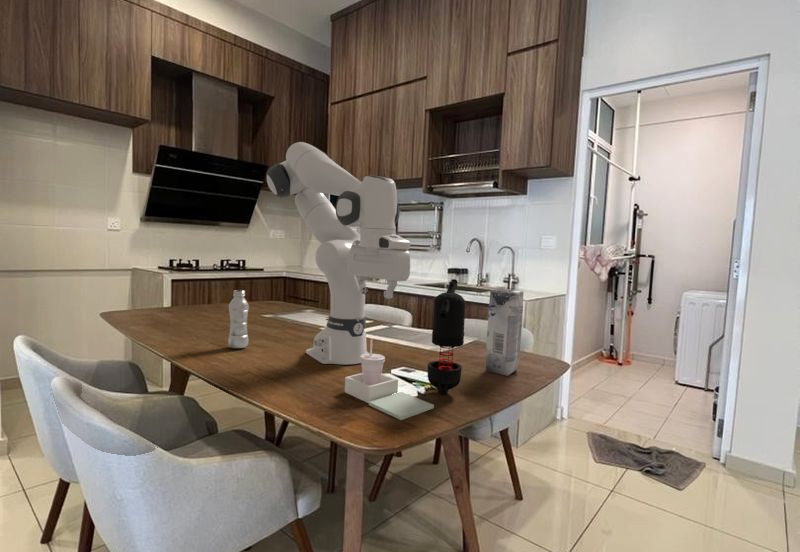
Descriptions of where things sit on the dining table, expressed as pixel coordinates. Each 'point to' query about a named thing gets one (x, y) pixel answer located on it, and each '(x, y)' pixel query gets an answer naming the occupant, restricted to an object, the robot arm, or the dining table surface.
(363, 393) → the shallow white tray
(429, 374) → the filter
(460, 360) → the dining table surface
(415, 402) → the coaster
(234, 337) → the plastic bottle
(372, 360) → the smoothie
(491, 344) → the juice carton
